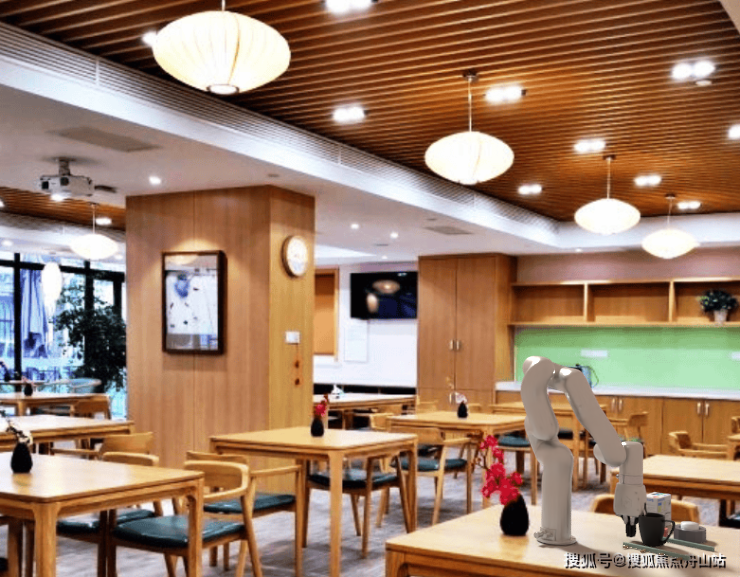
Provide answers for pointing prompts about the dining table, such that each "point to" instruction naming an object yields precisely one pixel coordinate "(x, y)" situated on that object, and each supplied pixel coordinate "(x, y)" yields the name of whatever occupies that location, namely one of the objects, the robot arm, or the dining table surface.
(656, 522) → the mug
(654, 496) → the light bulb box
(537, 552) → the dining table surface
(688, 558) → the track
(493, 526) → the dining table surface
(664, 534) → the die
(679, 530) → the housing
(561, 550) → the dining table surface
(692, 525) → the button
